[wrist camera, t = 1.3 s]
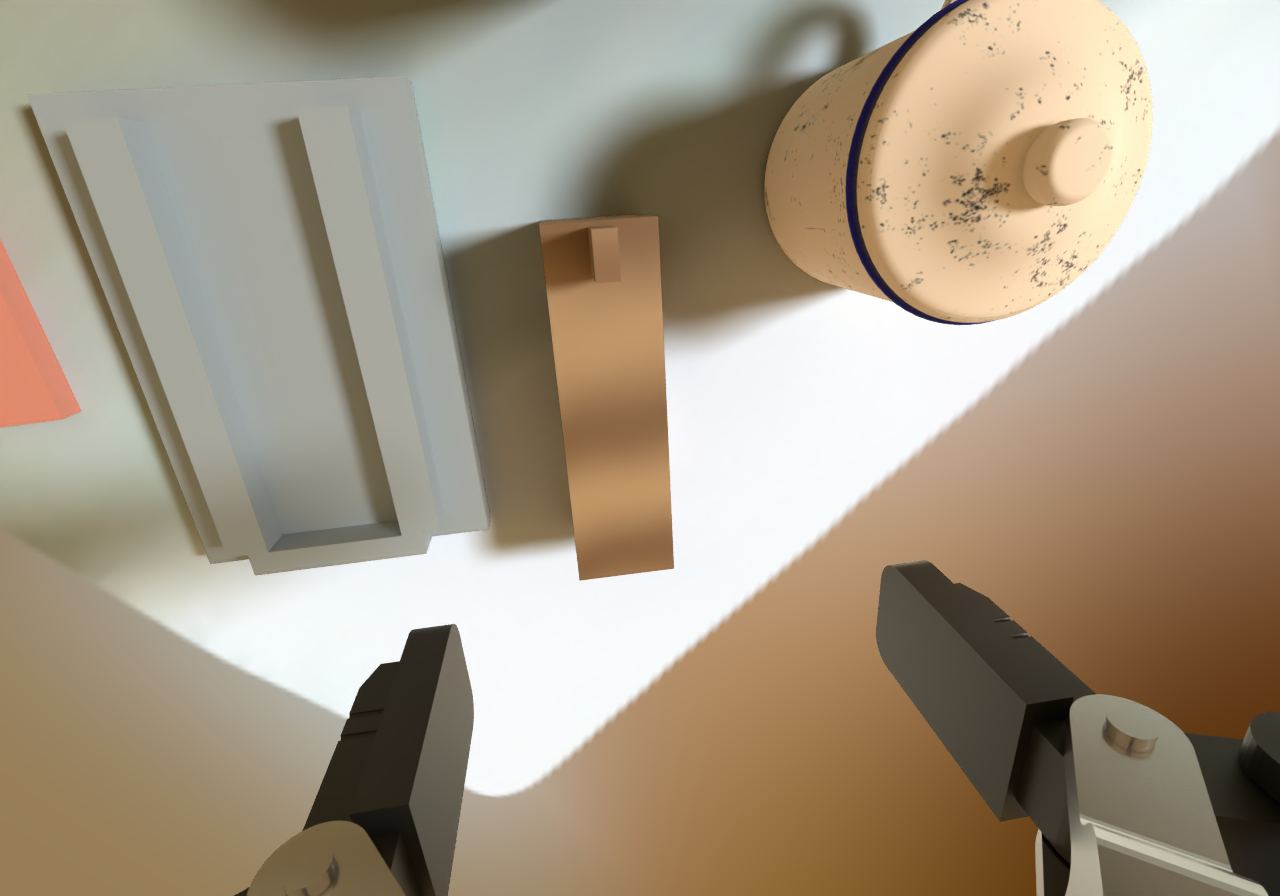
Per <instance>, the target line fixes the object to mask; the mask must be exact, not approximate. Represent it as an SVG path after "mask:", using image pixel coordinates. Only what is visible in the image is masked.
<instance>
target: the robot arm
mask: <svg viewBox="0 0 1280 896" xmlns="http://www.w3.org/2000/svg"><path fill="white" fill-rule="evenodd" d="M876 639H877V644H878V648H879V651H880V654H881V657H882V659H883V661H884V663H885V665H886V666H887V668H888V669H889V670H890V672H891V673H892V674H893V676H894V677H895V679H896V680H897V681H898V683H899V684H900V685H901V687H902V688H903V690H904V691H905V692H906V693H907V695H908V696H909V697H910V699H911V700H912V702H913V703H914V704H915V706H916V707H917V709H918V710H919V711H920V713H921V714H922V715H923V717H924V718H925V720H926V721H927V722H928V724H929V725H930V726H931V728H932V729H933V731H934V732H935V733H936V735H937V736H938V737H939V739H940V740H941V741H942V743H943V744H944V746H945V747H946V748H947V750H948V751H949V752H950V754H951V755H952V756H953V758H954V759H955V761H956V762H957V763H958V765H959V766H960V767H961V769H962V770H963V772H964V773H965V774H966V776H967V777H968V778H969V780H970V781H971V783H972V784H973V785H974V787H975V788H976V789H977V791H978V792H979V793H980V795H981V796H982V797H983V799H984V800H985V801H986V803H987V804H988V806H989V807H990V809H991V810H992V811H993V813H994V814H995V815H996V816H997V818H998V819H999V821H1000V822H1001V821H1006V820H1012V819H1017V818H1022V817H1028V816H1030V818H1031V819H1032V821H1033V822H1034V823H1035V824H1036V826H1037V827H1038V828H1039V830H1038V833H1037V837H1036V844H1035V845H1036V846H1035V848H1036V879H1037V880H1036V881H1037V896H1280V712H1266V713H1261V714H1259V715H1257V716H1255V717H1254V718H1253V719H1252V721H1251V723H1250V726H1249V728H1248V731H1247V733H1246V736H1245V738H1244V739H1234V738H1225V737H1216V736H1206V735H1197V734H1187V733H1183V732H1182V731H1181V730H1180V729H1179V728H1178V727H1177V726H1176V725H1175V724H1174V723H1172V722H1171V721H1170V720H1168V719H1167V718H1165V717H1164V716H1163V715H1161V714H1159V713H1157V712H1156V711H1154V710H1152V709H1150V708H1148V707H1146V706H1144V705H1141V704H1139V703H1137V702H1134V701H1131V700H1128V699H1125V698H1121V697H1116V696H1110V695H1097V694H1096V693H1095V692H1093V691H1092V690H1091V689H1090V688H1089V687H1088V686H1087V685H1085V684H1084V683H1083V682H1082V681H1081V680H1080V679H1079V678H1078V677H1077V676H1075V675H1074V674H1073V673H1072V672H1071V671H1070V670H1069V669H1068V668H1066V667H1065V666H1064V665H1063V664H1062V663H1061V662H1060V661H1058V659H1056V658H1055V657H1054V656H1053V655H1052V654H1051V653H1050V652H1049V651H1047V650H1046V649H1045V648H1044V647H1043V646H1042V645H1041V644H1040V643H1038V642H1037V641H1036V640H1035V639H1034V638H1033V637H1028V635H1027V632H1026V631H1025V630H1024V629H1023V628H1022V627H1020V626H1019V625H1018V624H1017V623H1016V622H1015V621H1011V620H1010V617H1009V616H1008V615H1007V614H1006V613H1005V612H1004V611H1003V610H1002V609H1000V608H999V607H998V606H997V605H996V604H995V603H994V602H993V601H991V600H990V599H989V598H988V597H986V596H984V595H982V594H980V593H978V592H976V591H974V590H972V589H971V588H969V587H967V586H965V585H963V584H961V583H956V584H953V583H952V582H951V581H950V580H949V579H948V578H947V577H946V576H945V575H944V574H943V573H942V572H940V571H939V570H938V569H937V568H936V567H935V566H934V565H933V564H932V563H930V562H928V561H918V562H910V563H903V564H896V565H889V566H886V567H885V568H884V570H883V572H882V577H881V586H880V597H879V607H878V617H877V627H876ZM349 714H350V718H349V719H347V721H346V723H345V726H344V729H343V731H342V734H341V741H338V744H337V746H336V749H335V751H334V754H333V756H332V759H331V761H330V764H329V766H328V769H327V771H326V774H325V776H324V779H323V781H322V784H321V786H320V789H319V792H318V794H317V796H316V799H315V801H314V804H313V806H312V809H311V811H310V814H309V816H308V819H307V821H306V824H305V827H304V829H303V831H302V832H300V833H298V834H297V835H295V836H293V837H292V838H290V839H289V840H288V841H286V842H285V843H284V844H282V845H281V846H280V847H279V848H278V849H277V850H276V851H275V852H273V854H272V855H271V856H270V857H269V858H268V859H267V860H266V861H265V862H264V864H263V865H262V866H261V868H260V869H259V871H258V872H257V874H256V875H255V877H254V879H253V881H252V883H251V885H250V887H248V888H247V889H246V890H244V891H242V892H240V893H238V894H236V895H235V896H448V890H449V883H450V877H451V870H452V863H453V857H454V850H455V843H456V836H457V829H458V823H459V817H460V810H461V803H462V797H463V790H464V783H465V777H466V770H467V764H468V757H469V750H470V744H471V737H472V730H473V719H474V709H473V696H472V689H471V685H470V680H469V675H468V671H467V666H466V662H465V657H464V653H463V648H462V643H461V639H460V634H459V631H458V628H457V626H456V625H455V624H451V625H444V626H436V627H429V628H422V629H414V630H412V631H411V632H410V633H409V636H408V639H407V642H406V645H405V648H404V651H403V654H402V657H401V660H400V661H399V662H392V663H385V664H381V665H380V666H379V667H378V668H377V669H376V670H375V671H374V672H373V674H372V675H371V676H370V677H369V678H368V679H367V680H366V681H365V682H364V684H363V685H362V686H361V687H360V688H359V691H358V693H357V696H356V698H355V701H354V703H353V706H352V708H351V711H350V713H349Z"/></svg>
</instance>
